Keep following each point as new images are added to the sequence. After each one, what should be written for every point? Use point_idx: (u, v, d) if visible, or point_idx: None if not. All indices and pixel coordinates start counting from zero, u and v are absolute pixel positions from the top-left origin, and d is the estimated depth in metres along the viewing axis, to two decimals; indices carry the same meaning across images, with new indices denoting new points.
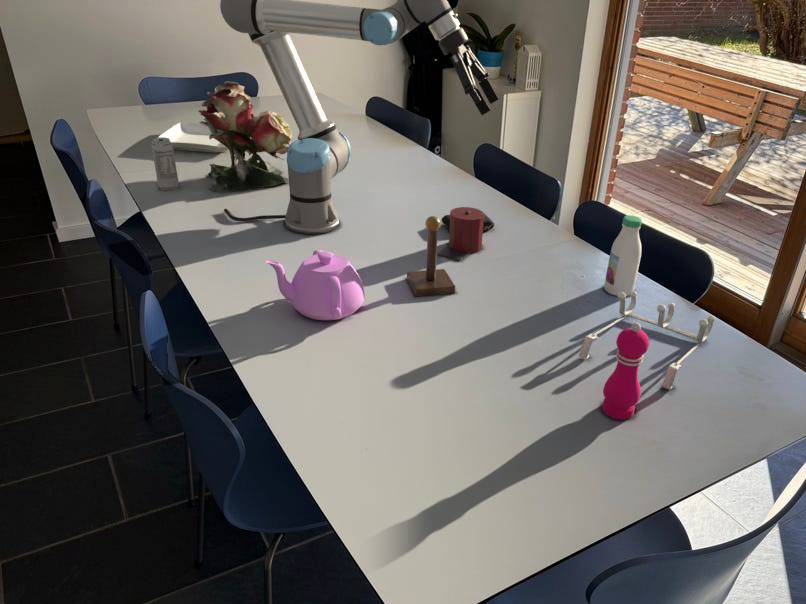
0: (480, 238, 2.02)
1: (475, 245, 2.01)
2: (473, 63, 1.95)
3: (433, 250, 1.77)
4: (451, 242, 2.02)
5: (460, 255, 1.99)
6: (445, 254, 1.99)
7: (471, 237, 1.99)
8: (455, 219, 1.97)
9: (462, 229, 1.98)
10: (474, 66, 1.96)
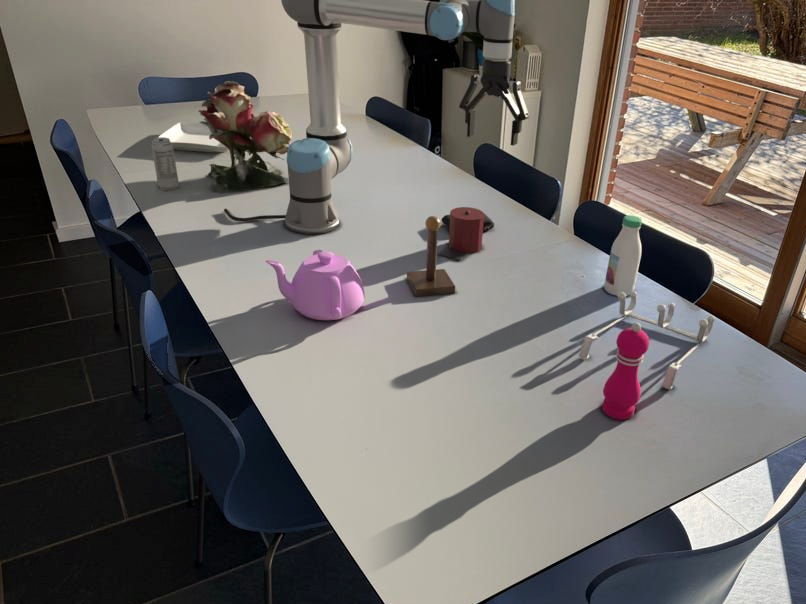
0: (480, 238, 2.02)
1: (475, 245, 2.01)
2: (486, 93, 1.96)
3: (433, 250, 1.77)
4: (451, 242, 2.02)
5: (460, 255, 1.99)
6: (445, 254, 1.99)
7: (471, 237, 1.99)
8: (455, 219, 1.97)
9: (462, 229, 1.98)
10: (483, 96, 1.97)
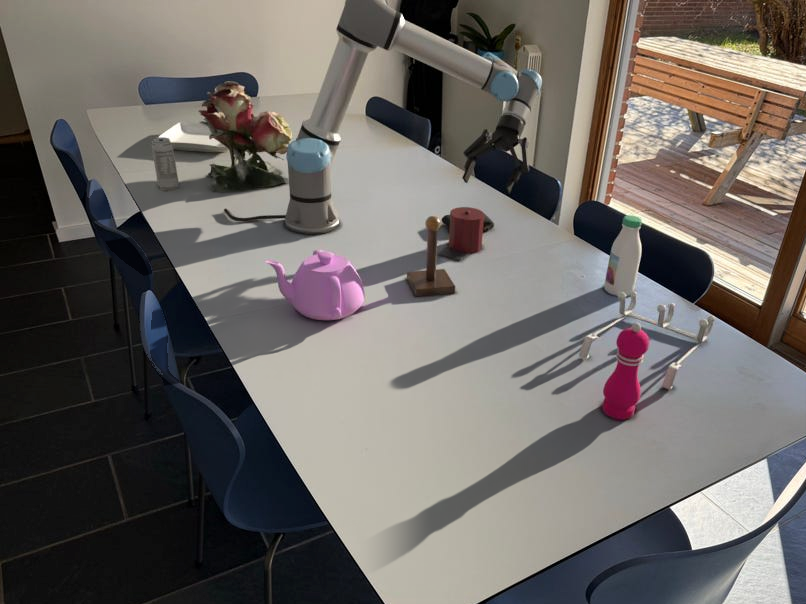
0: (480, 238, 2.02)
1: (475, 245, 2.01)
2: (492, 149, 2.09)
3: (433, 250, 1.77)
4: (451, 242, 2.02)
5: (460, 255, 1.99)
6: (445, 254, 1.99)
7: (471, 237, 1.99)
8: (455, 219, 1.97)
9: (462, 229, 1.98)
10: (488, 150, 2.09)
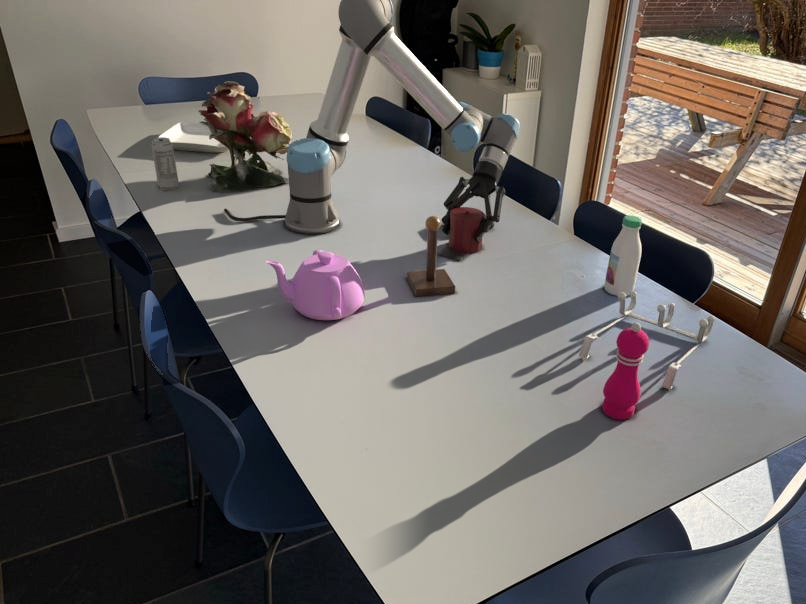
0: None
1: (475, 245, 2.01)
2: (470, 196, 2.04)
3: (433, 250, 1.77)
4: (451, 242, 2.02)
5: (460, 255, 1.99)
6: (445, 254, 1.99)
7: (471, 237, 1.99)
8: (455, 219, 1.97)
9: (462, 229, 1.98)
10: (467, 198, 2.04)
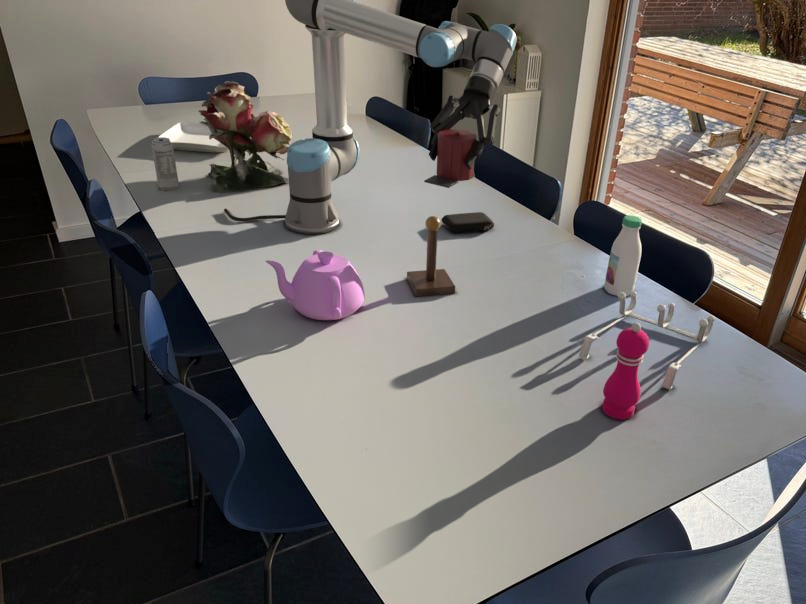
0: None
1: (466, 171, 1.77)
2: (461, 118, 1.80)
3: (433, 250, 1.77)
4: (439, 168, 1.78)
5: (449, 182, 1.75)
6: (432, 181, 1.75)
7: (461, 162, 1.75)
8: (443, 140, 1.73)
9: (452, 152, 1.74)
10: (457, 120, 1.80)
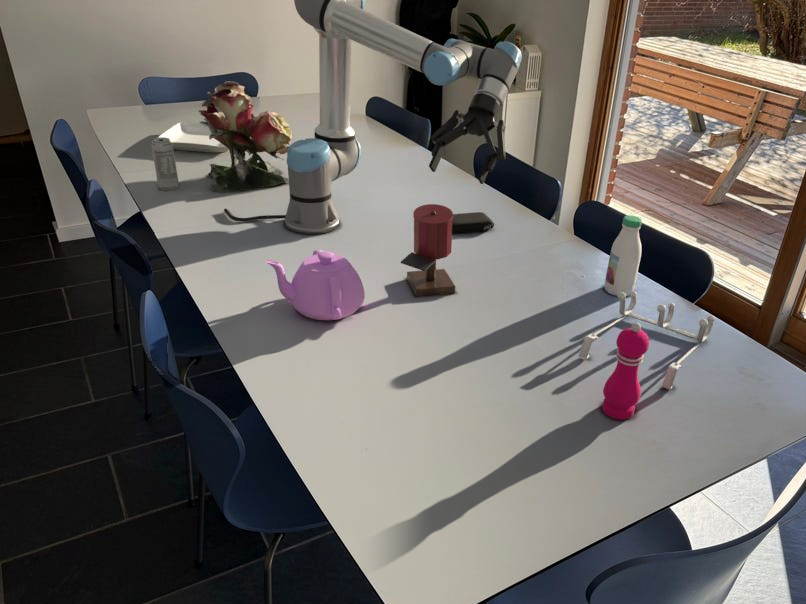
0: (449, 242, 1.75)
1: (443, 250, 1.75)
2: (463, 133, 1.81)
3: None
4: (416, 246, 1.76)
5: (426, 263, 1.73)
6: (408, 262, 1.73)
7: (438, 242, 1.73)
8: (419, 222, 1.70)
9: (427, 234, 1.71)
10: (459, 135, 1.81)
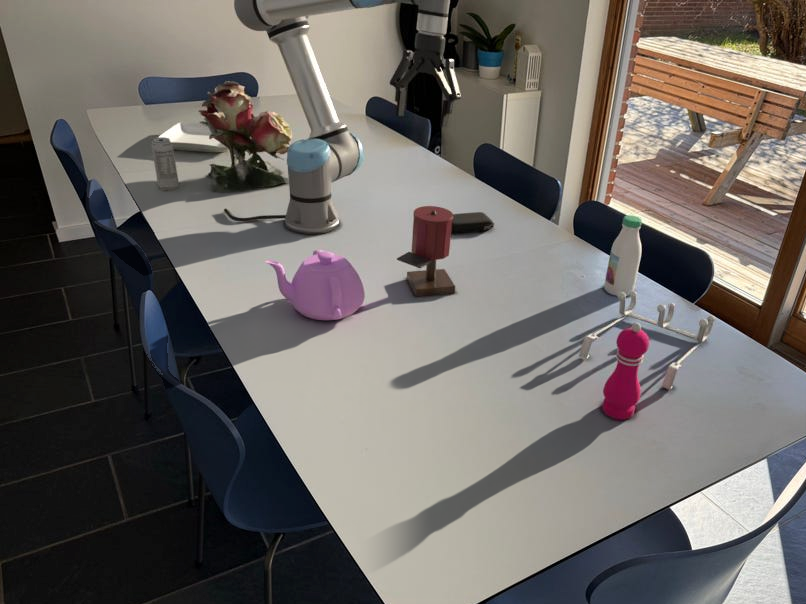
0: (447, 243, 1.74)
1: (441, 251, 1.74)
2: (418, 71, 1.88)
3: None
4: (413, 246, 1.75)
5: (422, 261, 1.72)
6: (404, 259, 1.72)
7: (436, 241, 1.72)
8: (418, 219, 1.70)
9: (426, 232, 1.70)
10: (414, 74, 1.88)
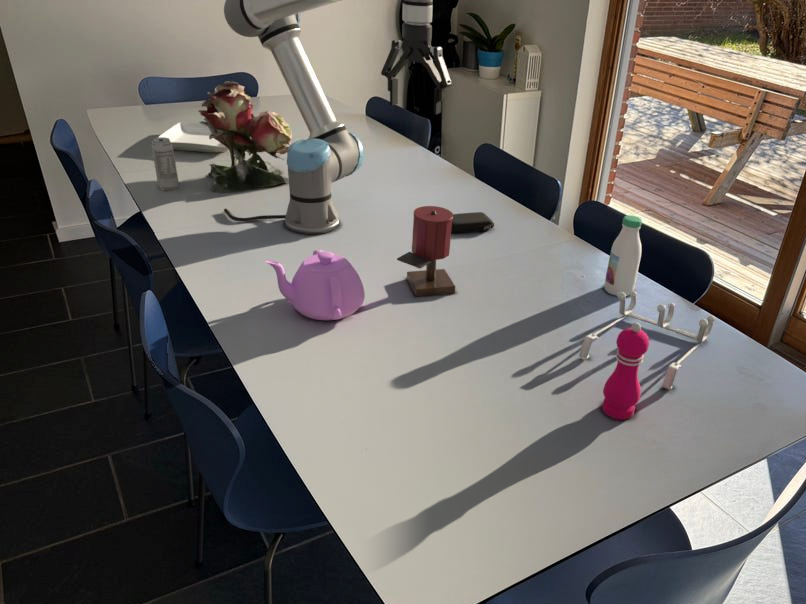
0: (447, 243, 1.74)
1: (441, 251, 1.74)
2: (408, 60, 1.89)
3: None
4: (414, 246, 1.75)
5: (422, 261, 1.72)
6: (405, 259, 1.72)
7: (436, 241, 1.72)
8: (418, 220, 1.70)
9: (426, 232, 1.71)
10: (405, 63, 1.90)
